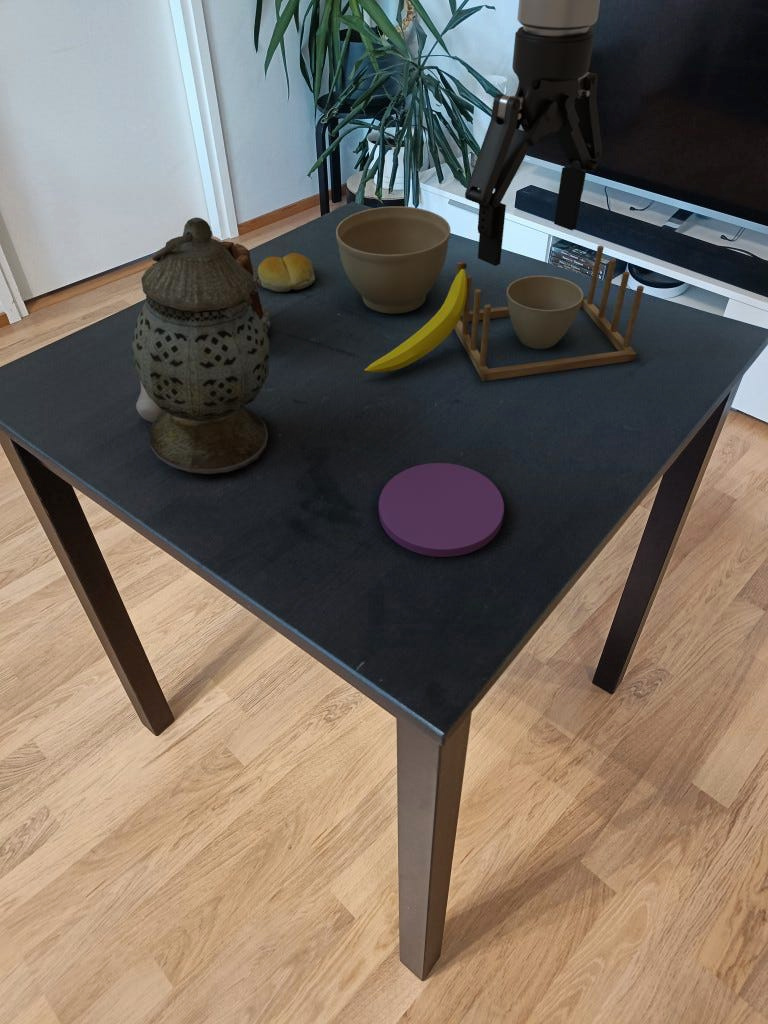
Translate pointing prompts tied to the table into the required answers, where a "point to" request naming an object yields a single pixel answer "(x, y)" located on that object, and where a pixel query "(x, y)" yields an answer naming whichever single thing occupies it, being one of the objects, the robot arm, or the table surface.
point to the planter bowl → (393, 255)
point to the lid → (441, 509)
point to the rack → (597, 316)
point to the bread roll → (286, 273)
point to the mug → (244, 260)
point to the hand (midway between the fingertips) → (528, 243)
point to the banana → (428, 330)
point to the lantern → (201, 355)
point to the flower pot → (542, 309)
